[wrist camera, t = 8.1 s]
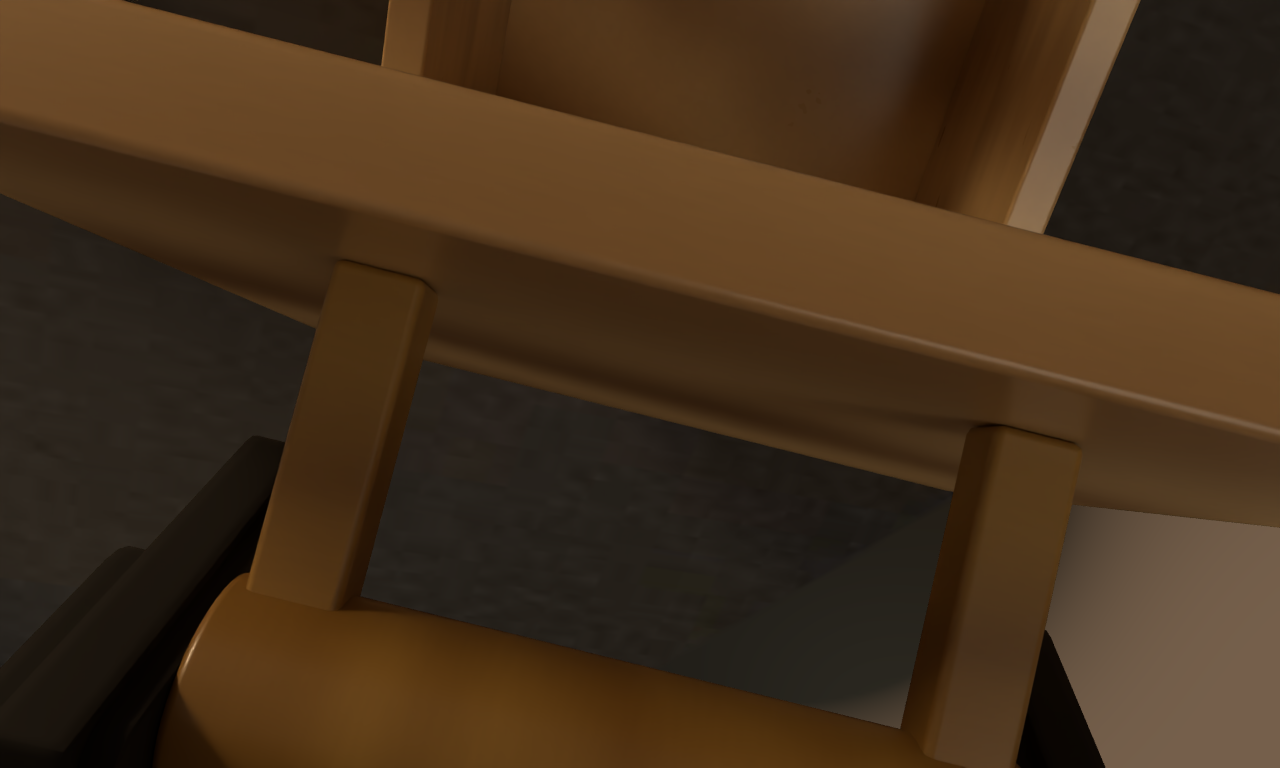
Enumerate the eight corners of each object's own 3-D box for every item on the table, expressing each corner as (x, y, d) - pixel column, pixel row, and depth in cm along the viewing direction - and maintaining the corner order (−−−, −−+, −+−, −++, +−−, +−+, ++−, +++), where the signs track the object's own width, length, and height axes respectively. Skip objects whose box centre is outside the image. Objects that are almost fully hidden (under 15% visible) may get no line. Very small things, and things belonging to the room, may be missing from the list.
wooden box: (555, -439, 22) (460, -611, 15) (1118, -291, 23) (1303, -388, 15) (453, 205, 29) (350, 311, 21) (896, 316, 29) (950, 461, 21)
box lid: (-381, -133, 5) (-700, 826, 5) (1920, 452, 6) (1770, 1415, 5) (348, 299, 21) (281, 545, 20) (958, 452, 21) (903, 699, 21)
